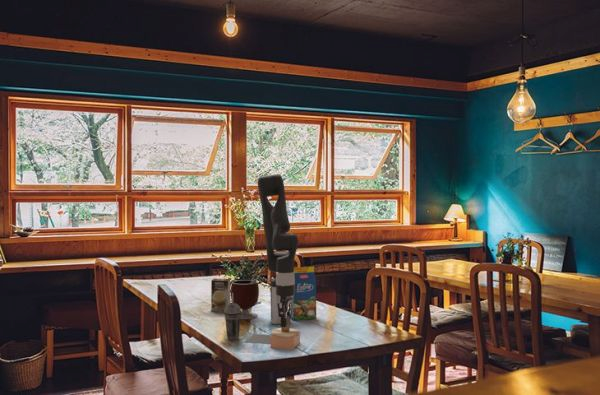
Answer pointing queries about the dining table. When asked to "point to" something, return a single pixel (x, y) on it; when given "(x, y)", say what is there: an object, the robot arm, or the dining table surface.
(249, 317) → the mate gourd
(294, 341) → the open wooden box
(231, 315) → the beverage cup
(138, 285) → the dining table surface
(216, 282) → the coffee box
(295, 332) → the lid
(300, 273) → the blue food package
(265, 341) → the mat
